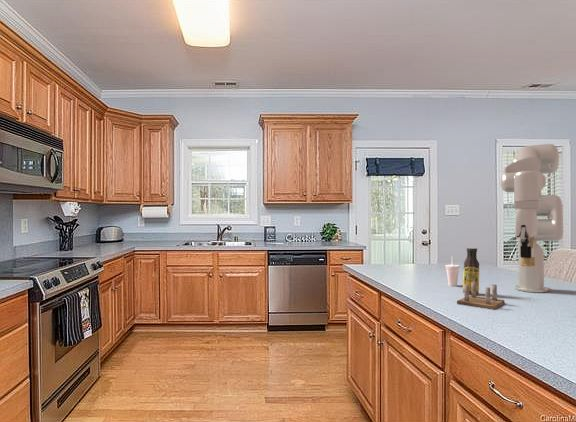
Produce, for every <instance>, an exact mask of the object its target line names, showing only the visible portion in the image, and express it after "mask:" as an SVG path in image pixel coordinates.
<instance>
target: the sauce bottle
mask: <svg viewBox="0 0 576 422" xmlns="http://www.w3.org/2000/svg"><path fill="white" fill-rule="evenodd" d="M477 253H478V248H477V247H466V259H465V260H464V261H463V272H462V273H463V274H462V277H463V278H462V292H463V294H464V285H469V295H470V296H472V289H471V282H476V296H477V295H479V293H480V292H479V291H480V262H479V260H478V258H477Z"/></svg>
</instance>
